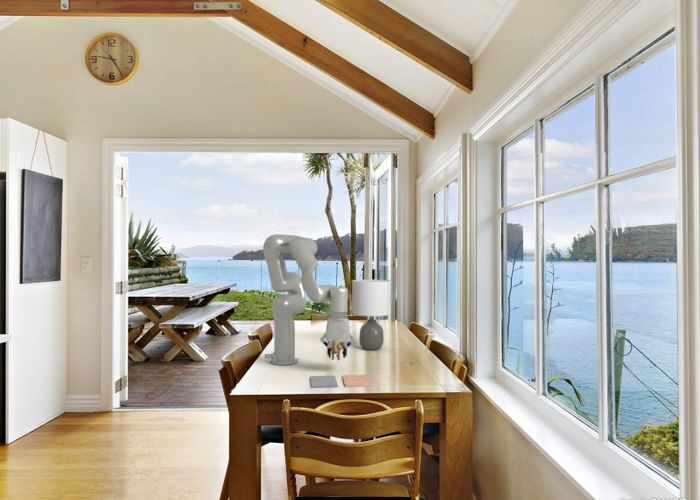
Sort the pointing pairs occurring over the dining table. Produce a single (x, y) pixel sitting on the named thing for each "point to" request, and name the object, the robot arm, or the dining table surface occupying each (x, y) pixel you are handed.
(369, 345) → the lamp
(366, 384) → the terracotta tile
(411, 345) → the dining table surface
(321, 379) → the slate tile
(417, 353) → the dining table surface
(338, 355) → the lion figurine
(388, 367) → the dining table surface
